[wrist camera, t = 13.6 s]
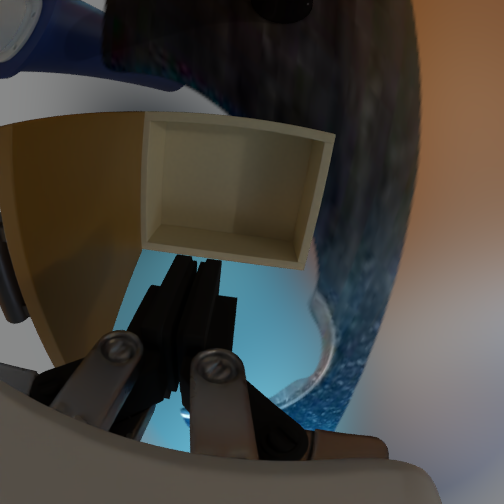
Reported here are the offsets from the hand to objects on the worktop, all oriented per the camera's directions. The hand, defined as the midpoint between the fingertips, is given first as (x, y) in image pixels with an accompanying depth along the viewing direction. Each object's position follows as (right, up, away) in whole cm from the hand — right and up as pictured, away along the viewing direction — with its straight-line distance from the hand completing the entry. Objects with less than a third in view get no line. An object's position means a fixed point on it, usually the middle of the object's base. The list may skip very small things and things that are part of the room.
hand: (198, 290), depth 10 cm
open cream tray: (0, +9, +16) cm, 19 cm away
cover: (-6, +3, +4) cm, 8 cm away
